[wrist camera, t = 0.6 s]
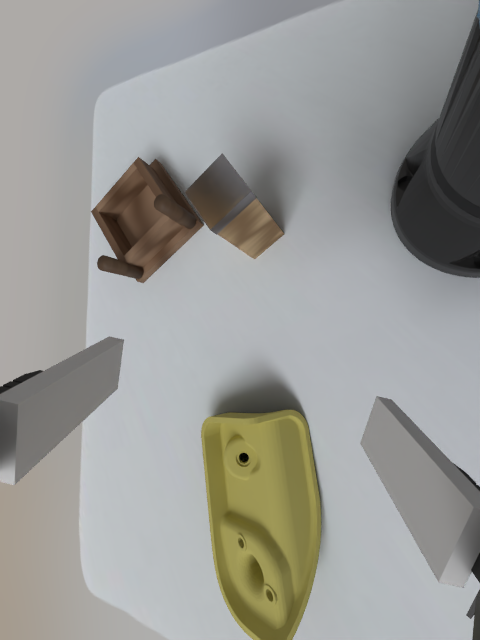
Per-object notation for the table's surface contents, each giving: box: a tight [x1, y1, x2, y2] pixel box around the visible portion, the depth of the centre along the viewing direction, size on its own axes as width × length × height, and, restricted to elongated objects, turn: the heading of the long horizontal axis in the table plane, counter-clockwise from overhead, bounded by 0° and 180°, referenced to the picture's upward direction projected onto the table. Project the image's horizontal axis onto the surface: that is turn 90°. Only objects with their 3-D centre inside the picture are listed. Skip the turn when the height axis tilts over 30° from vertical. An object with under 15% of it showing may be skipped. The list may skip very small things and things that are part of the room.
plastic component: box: [201, 410, 321, 640], centre depth 31 cm, size 20×7×10 cm
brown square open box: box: [91, 157, 203, 283], centre depth 37 cm, size 12×12×7 cm
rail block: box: [184, 154, 284, 259], centre depth 29 cm, size 5×5×11 cm
